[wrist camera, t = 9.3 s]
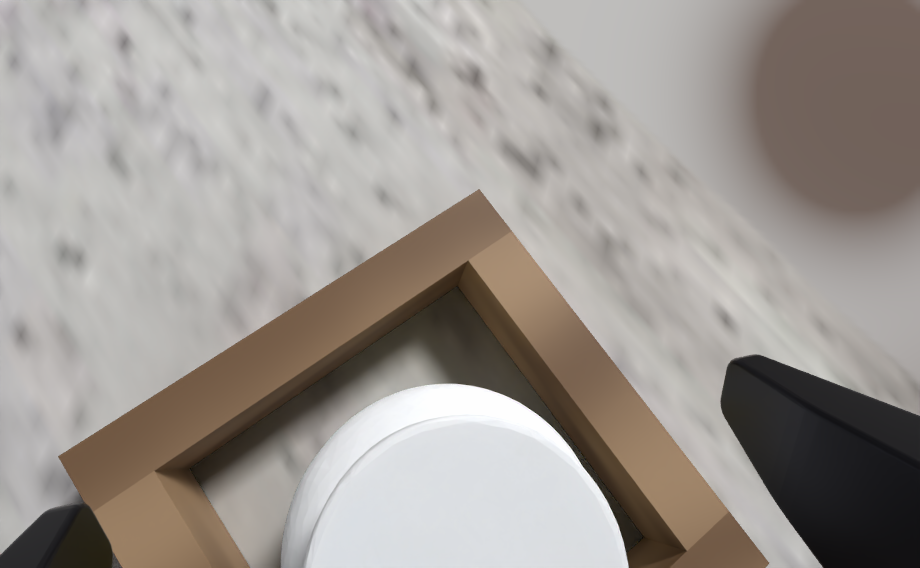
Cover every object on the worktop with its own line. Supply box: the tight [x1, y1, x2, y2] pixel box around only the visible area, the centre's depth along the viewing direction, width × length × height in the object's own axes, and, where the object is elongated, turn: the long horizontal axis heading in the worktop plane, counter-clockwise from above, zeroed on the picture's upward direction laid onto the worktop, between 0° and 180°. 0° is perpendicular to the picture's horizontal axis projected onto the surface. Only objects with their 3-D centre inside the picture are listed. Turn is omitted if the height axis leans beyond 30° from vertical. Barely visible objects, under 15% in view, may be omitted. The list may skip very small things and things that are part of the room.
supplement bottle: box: [281, 384, 629, 568], centre depth 12 cm, size 5×5×10 cm
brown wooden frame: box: [58, 189, 769, 568], centre depth 15 cm, size 12×12×2 cm
